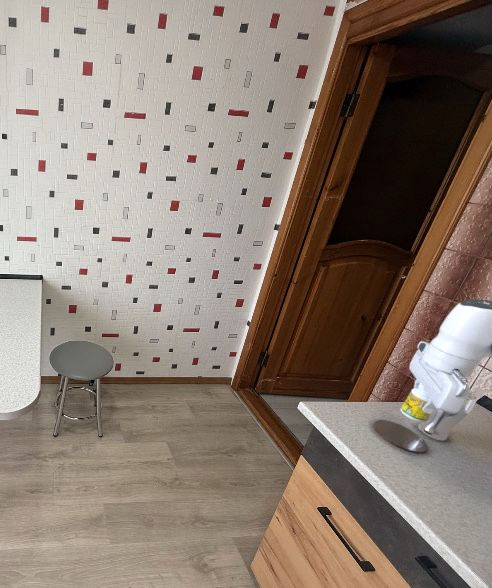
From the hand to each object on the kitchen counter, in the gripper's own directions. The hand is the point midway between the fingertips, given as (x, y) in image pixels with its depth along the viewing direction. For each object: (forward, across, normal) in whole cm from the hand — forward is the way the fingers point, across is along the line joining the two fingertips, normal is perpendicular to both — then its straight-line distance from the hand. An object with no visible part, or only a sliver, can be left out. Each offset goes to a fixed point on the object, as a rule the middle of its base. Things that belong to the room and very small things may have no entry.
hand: (420, 403), depth 87 cm
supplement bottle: (+4, 0, 0) cm, 4 cm away
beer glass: (+12, +8, -9) cm, 17 cm away
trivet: (+12, 0, 0) cm, 12 cm away
